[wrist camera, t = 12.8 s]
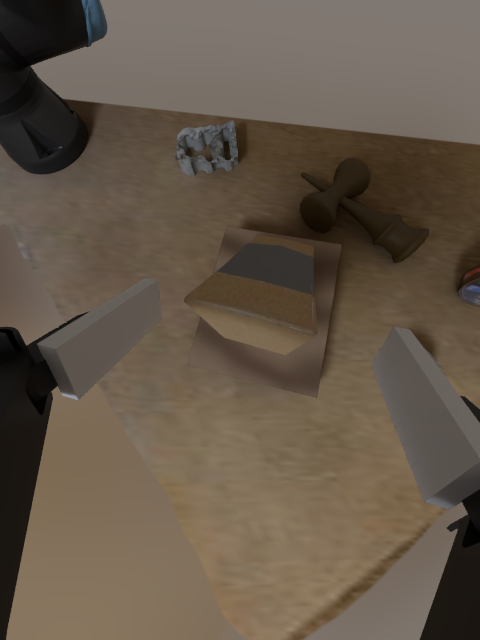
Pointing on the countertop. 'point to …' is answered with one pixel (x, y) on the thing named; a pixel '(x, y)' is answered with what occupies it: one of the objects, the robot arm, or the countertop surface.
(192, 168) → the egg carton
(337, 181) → the kendama
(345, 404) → the countertop surface
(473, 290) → the tin
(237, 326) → the sandwich container
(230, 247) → the walnut shelf
